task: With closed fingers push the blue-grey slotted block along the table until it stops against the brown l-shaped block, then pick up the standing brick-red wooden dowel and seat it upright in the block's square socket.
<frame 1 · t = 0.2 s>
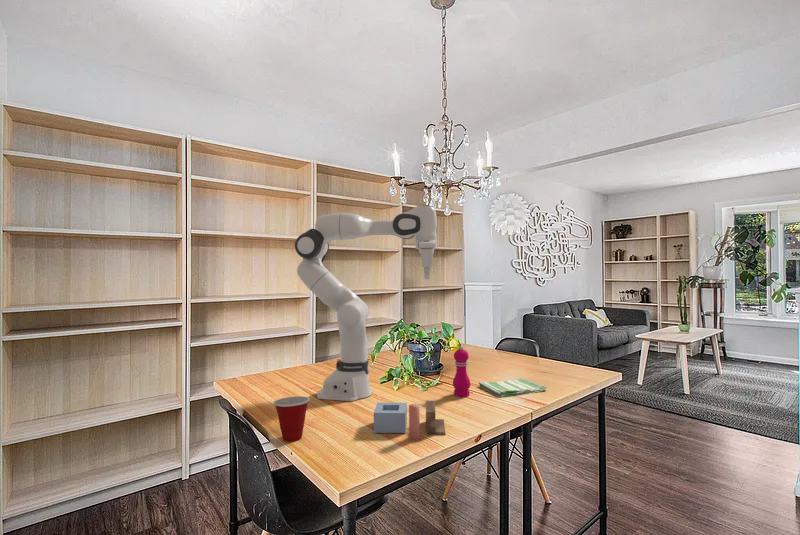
hand: (426, 278, 170), 48 cm above the table, tool pointing down, fingers open, 8 cm apart
dowel: (414, 438, 127), on the table
pepper mill: (461, 395, 170), on the table
brown l-shaped block: (430, 427, 136), on the table
dish towel: (511, 390, 177), on the table
blue-grey slotted block: (390, 417, 136), point 3 cm above the table, slide at 0.0 cm
plastic cup: (292, 438, 129), on the table
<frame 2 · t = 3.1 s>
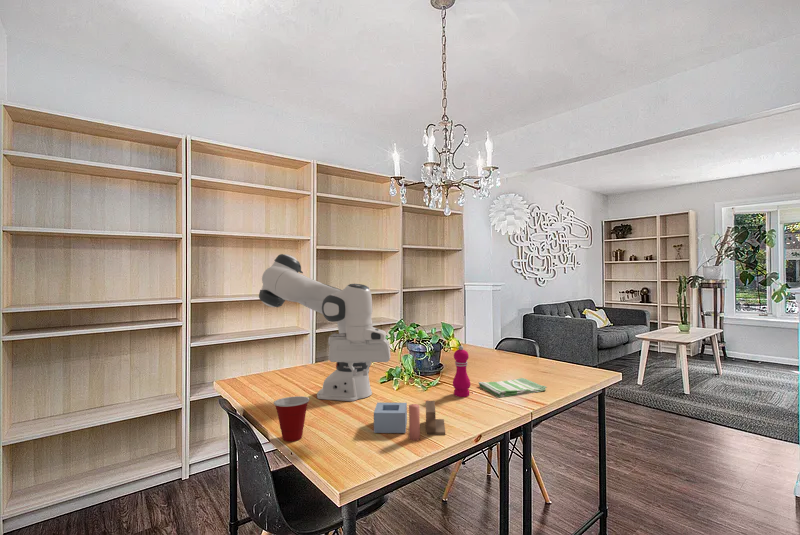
hand: (359, 375, 137), 17 cm above the table, tool pointing down, fingers closed
nothing on the table moved.
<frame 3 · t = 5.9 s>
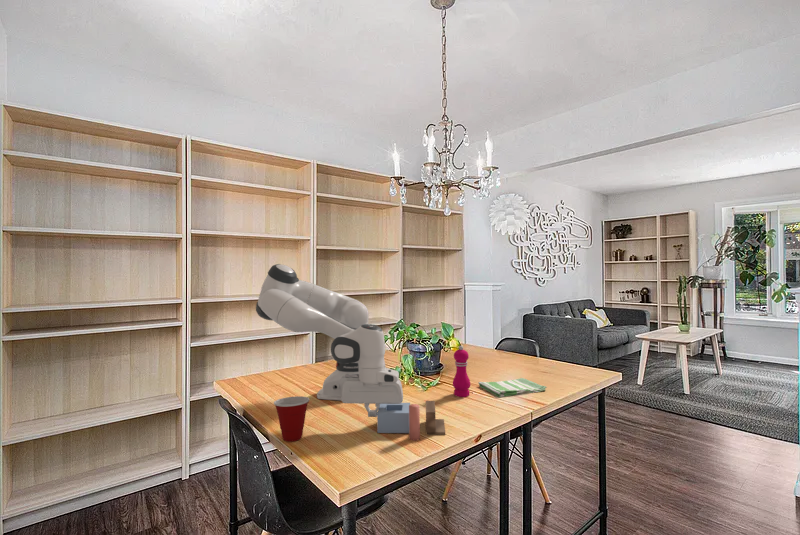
hand: (372, 416, 137), 4 cm above the table, tool pointing down, fingers closed
blue-grey slotted block: (394, 417, 136), point 3 cm above the table, slide at 1.1 cm, touching gripper
everything else where it was.
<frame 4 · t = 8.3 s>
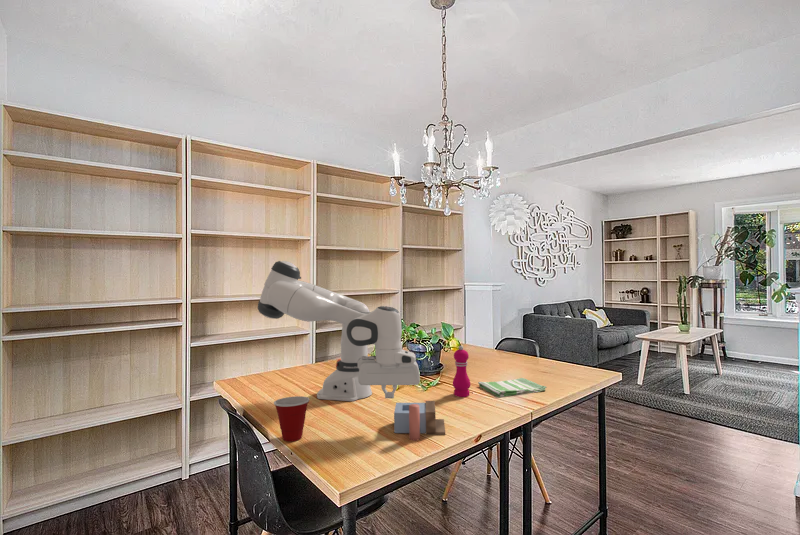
hand: (389, 397, 137), 10 cm above the table, tool pointing down, fingers closed
blue-grey slotted block: (410, 417, 136), point 3 cm above the table, slide at 6.5 cm, touching brown l-shaped block
everything else where it was.
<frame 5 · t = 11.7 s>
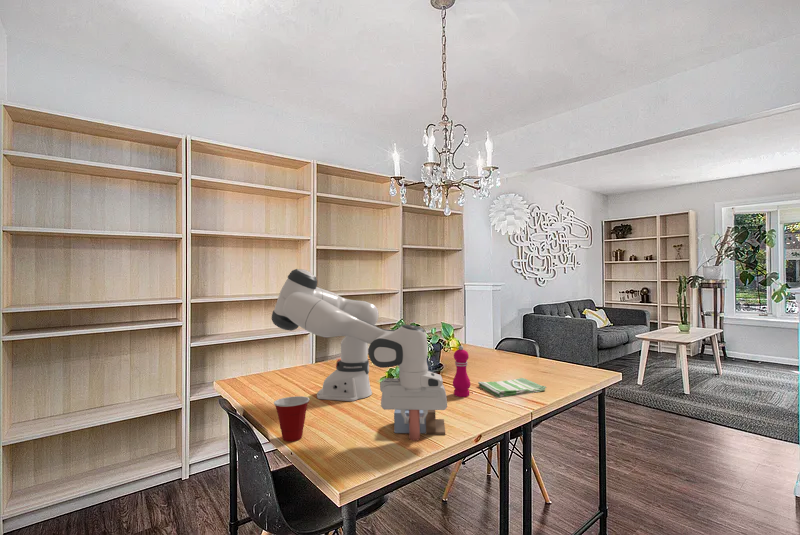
hand: (414, 423, 127), 5 cm above the table, tool pointing down, fingers closed on dowel, 3 cm apart
dowel: (414, 438, 127), on the table, touching gripper
everything else where it was.
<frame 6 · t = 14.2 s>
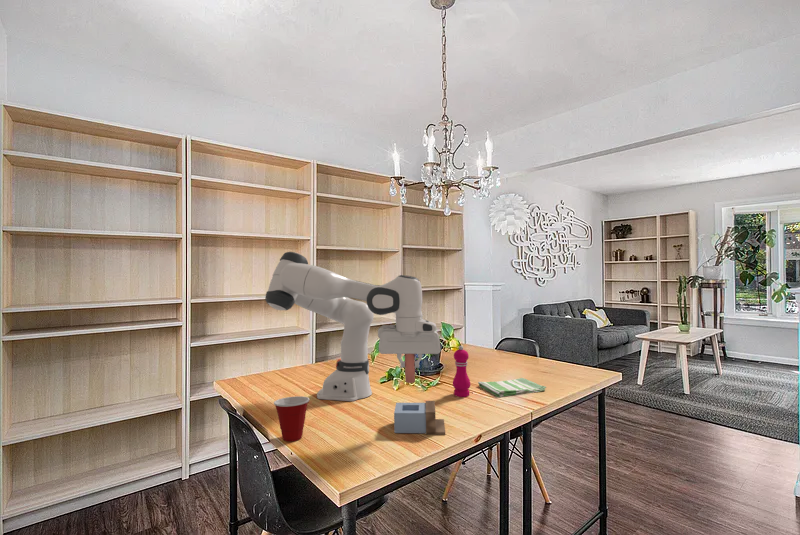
hand: (409, 367, 136), 20 cm above the table, tool pointing down, fingers closed on dowel, 3 cm apart
dowel: (410, 381, 136), point 15 cm above the table, touching gripper
everything else where it was.
when the fingers open (8 cm above the table, at t = 16.6 s): dowel drops 1 cm, resting on blue-grey slotted block.
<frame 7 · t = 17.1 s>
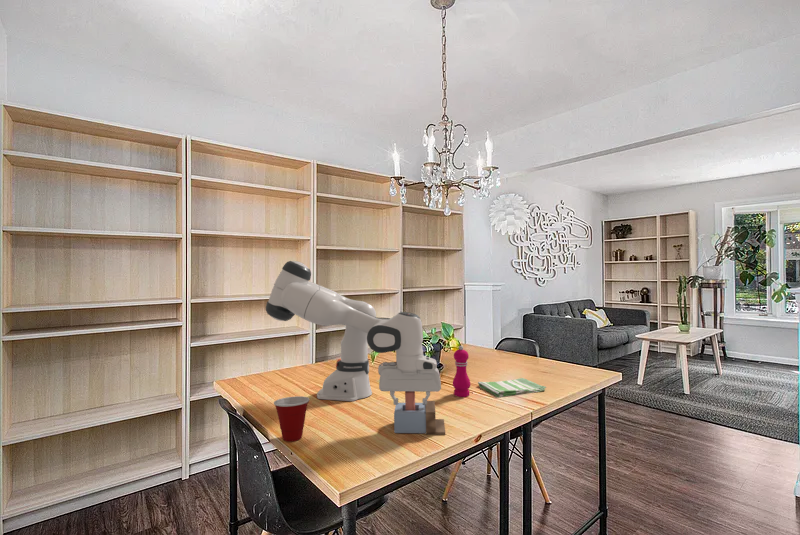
hand: (410, 404, 136), 8 cm above the table, tool pointing down, fingers open, 8 cm apart
dowel: (410, 422, 136), point 2 cm above the table, touching blue-grey slotted block
blue-grey slotted block: (410, 417, 136), point 3 cm above the table, slide at 6.5 cm, touching dowel
everything else where it was.
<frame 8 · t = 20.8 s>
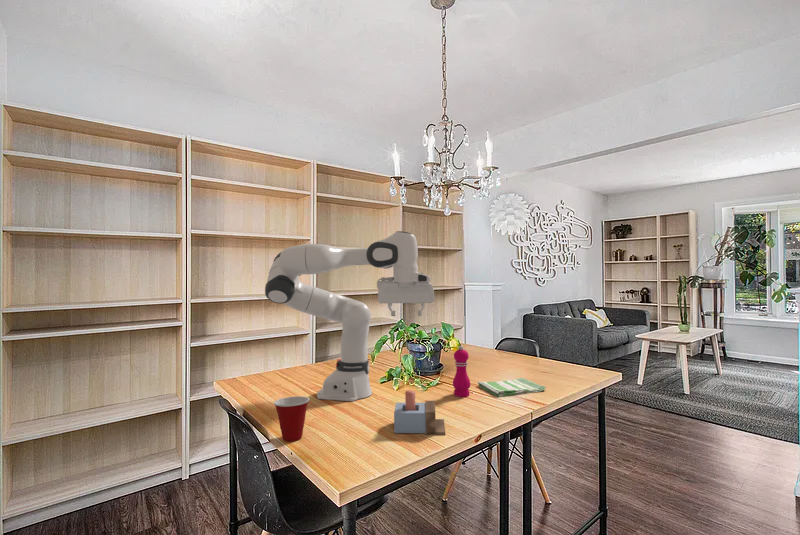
hand: (406, 315, 148), 35 cm above the table, tool pointing down, fingers open, 8 cm apart
nothing on the table moved.
at the end: blue-grey slotted block slide at 6.5 cm; dowel 0.0 cm from the target spot, point 1.7 cm above the table; dowel tilted 0° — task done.
